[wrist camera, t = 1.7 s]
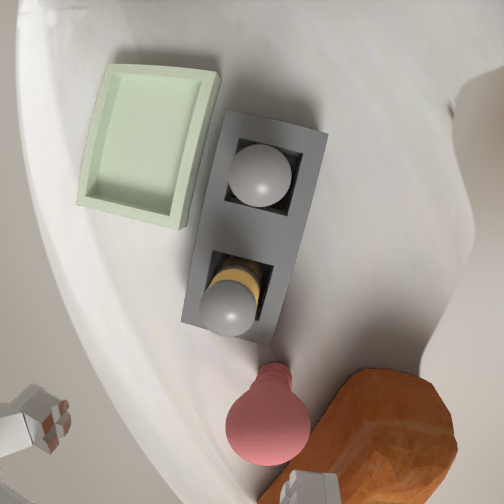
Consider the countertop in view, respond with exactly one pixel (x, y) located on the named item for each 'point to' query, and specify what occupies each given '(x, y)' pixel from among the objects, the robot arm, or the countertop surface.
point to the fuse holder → (254, 217)
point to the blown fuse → (232, 297)
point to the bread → (379, 441)
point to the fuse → (259, 175)
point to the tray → (147, 142)
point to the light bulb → (268, 419)
